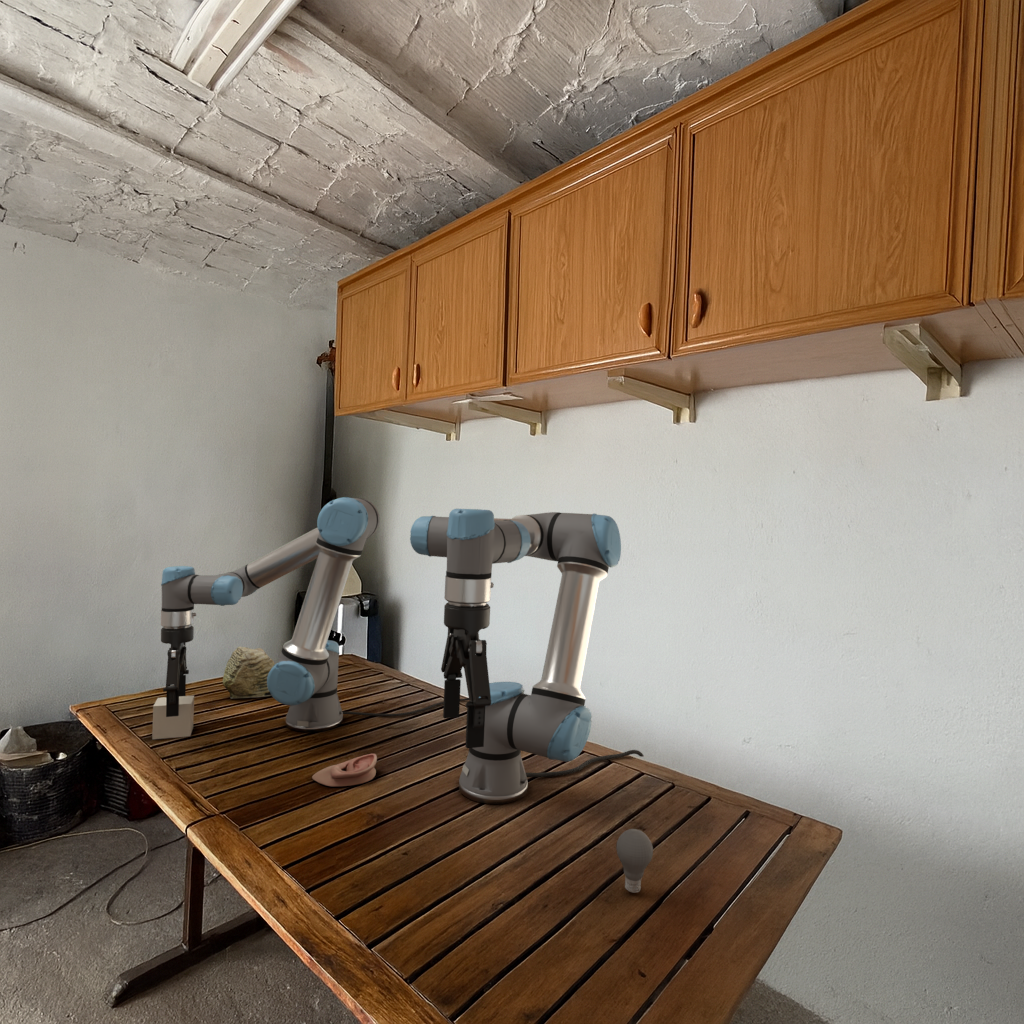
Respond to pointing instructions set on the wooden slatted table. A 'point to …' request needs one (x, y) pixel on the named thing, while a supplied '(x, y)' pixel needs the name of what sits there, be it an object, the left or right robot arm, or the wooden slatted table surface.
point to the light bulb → (634, 857)
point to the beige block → (173, 719)
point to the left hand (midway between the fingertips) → (176, 707)
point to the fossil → (247, 673)
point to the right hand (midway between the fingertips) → (462, 731)
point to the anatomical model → (348, 772)
